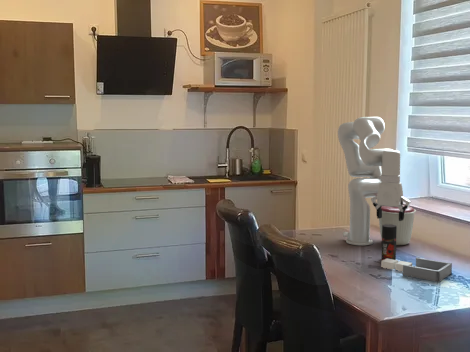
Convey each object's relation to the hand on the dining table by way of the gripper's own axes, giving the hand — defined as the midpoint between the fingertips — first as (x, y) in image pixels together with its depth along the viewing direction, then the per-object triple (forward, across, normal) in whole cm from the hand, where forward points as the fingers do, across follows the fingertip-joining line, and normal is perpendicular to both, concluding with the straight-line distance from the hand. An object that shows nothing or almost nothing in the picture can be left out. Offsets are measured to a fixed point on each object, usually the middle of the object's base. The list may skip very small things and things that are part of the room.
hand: (390, 219), depth 230 cm
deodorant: (+18, -1, +1) cm, 18 cm away
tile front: (+18, +10, -9) cm, 23 cm away
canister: (+18, -11, +31) cm, 37 cm away
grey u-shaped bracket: (+18, +19, -9) cm, 28 cm away
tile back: (+18, +4, -9) cm, 21 cm away
